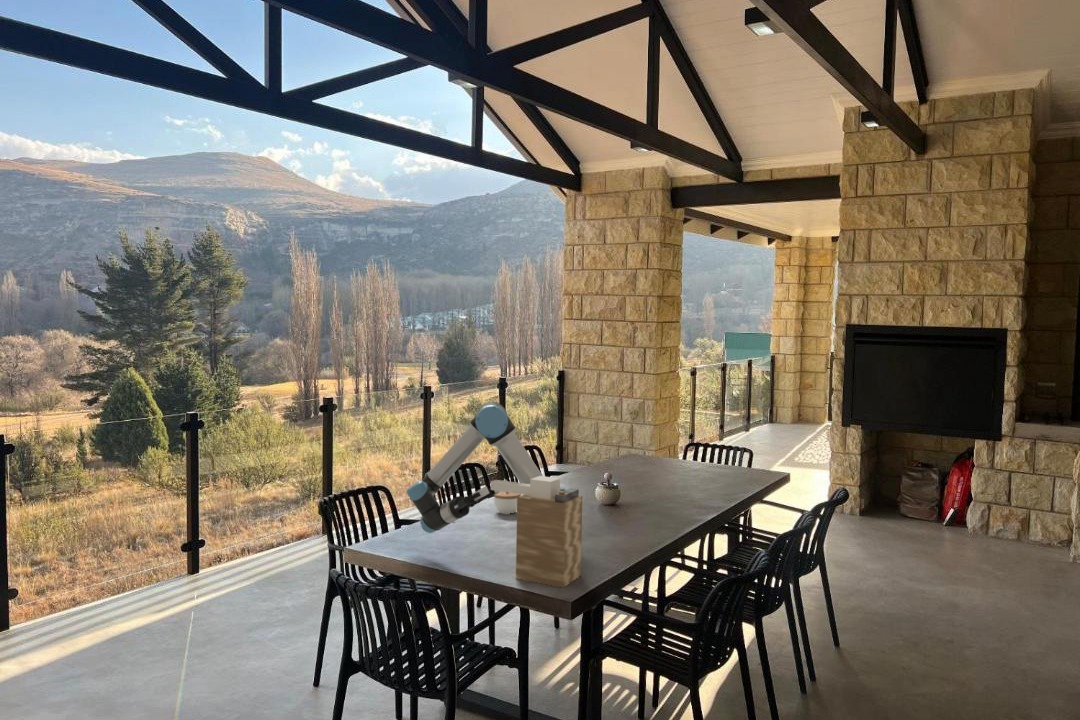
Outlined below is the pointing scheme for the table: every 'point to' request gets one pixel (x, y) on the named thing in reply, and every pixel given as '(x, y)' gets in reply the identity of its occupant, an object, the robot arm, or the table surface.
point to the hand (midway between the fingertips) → (497, 486)
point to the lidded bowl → (506, 502)
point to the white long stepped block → (530, 487)
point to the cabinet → (549, 538)
